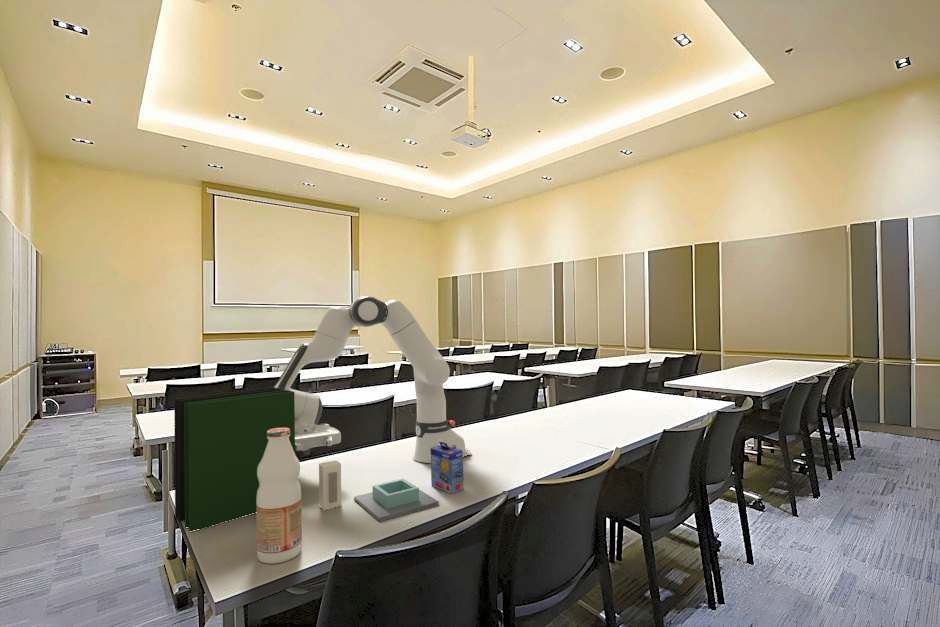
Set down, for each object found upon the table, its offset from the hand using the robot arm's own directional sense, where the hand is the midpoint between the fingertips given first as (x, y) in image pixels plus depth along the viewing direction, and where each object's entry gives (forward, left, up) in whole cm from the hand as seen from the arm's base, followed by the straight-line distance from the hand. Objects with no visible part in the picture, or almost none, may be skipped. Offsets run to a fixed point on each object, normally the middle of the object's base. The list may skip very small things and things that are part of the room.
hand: (314, 445), depth 142 cm
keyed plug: (0, +13, -14) cm, 19 cm away
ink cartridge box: (-34, +21, -14) cm, 43 cm away
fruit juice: (+18, +33, -14) cm, 40 cm away
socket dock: (-16, +22, -14) cm, 31 cm away
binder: (+22, -1, -14) cm, 26 cm away
